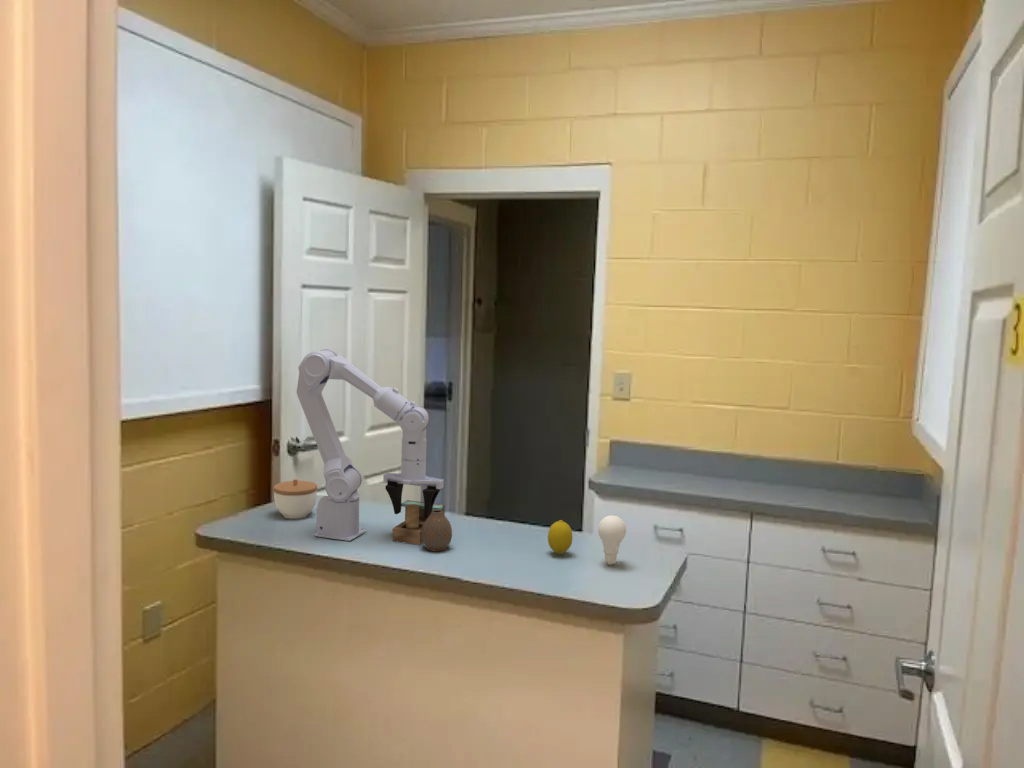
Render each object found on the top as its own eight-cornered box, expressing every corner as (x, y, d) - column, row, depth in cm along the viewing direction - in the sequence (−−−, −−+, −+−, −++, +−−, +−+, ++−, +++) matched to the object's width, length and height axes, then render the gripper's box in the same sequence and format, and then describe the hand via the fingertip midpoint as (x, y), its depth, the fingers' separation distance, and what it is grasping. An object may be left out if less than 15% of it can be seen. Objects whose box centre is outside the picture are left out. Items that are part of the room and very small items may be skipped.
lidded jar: (325, 512, 201) (325, 477, 200) (300, 523, 191) (300, 486, 190) (291, 507, 204) (291, 472, 203) (264, 517, 195) (264, 481, 193)
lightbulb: (617, 571, 165) (619, 521, 164) (591, 565, 168) (593, 516, 167) (628, 563, 170) (631, 515, 169) (603, 557, 174) (606, 510, 172)
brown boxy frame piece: (386, 540, 181) (386, 511, 180) (406, 526, 191) (407, 500, 190) (425, 545, 178) (426, 517, 177) (444, 532, 188) (444, 504, 187)
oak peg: (403, 539, 181) (403, 506, 180) (409, 536, 184) (409, 503, 183) (414, 541, 180) (415, 508, 179) (420, 537, 183) (421, 504, 182)
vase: (446, 554, 172) (447, 516, 171) (417, 551, 174) (417, 513, 173) (455, 544, 179) (456, 508, 178) (426, 542, 180) (427, 505, 179)
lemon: (574, 552, 177) (575, 518, 176) (568, 560, 171) (569, 525, 170) (551, 549, 178) (552, 515, 177) (544, 556, 173) (545, 521, 172)
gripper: (377, 458, 178) (376, 515, 180) (435, 465, 174) (434, 523, 176) (391, 452, 185) (390, 508, 187) (447, 459, 181) (446, 515, 183)
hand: (412, 515), depth 182 cm, fingers open, 7 cm apart
